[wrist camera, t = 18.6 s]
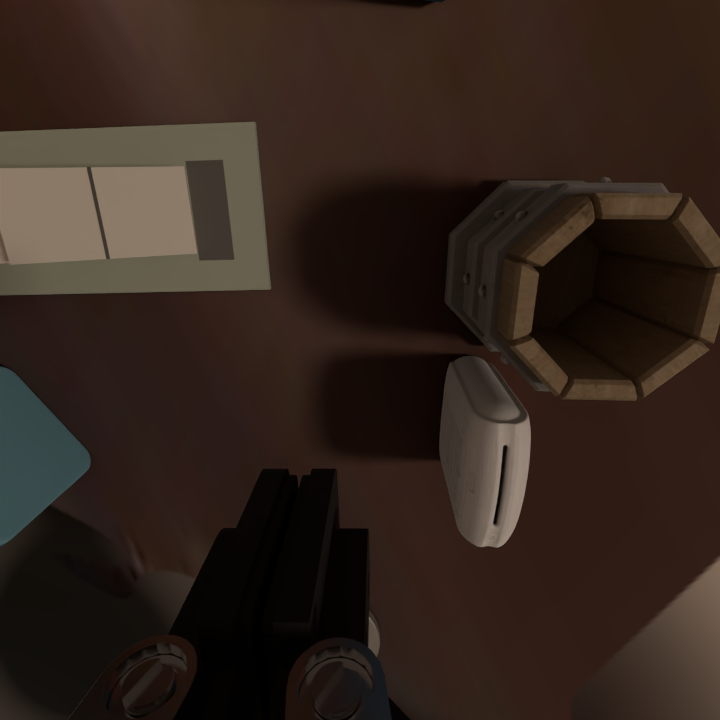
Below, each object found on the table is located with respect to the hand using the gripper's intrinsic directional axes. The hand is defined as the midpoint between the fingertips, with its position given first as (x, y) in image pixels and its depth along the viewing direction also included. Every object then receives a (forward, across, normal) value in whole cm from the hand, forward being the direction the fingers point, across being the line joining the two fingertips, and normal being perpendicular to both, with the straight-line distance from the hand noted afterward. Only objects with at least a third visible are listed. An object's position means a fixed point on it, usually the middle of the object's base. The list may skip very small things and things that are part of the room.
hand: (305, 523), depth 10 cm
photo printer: (+27, -9, +10) cm, 31 cm away
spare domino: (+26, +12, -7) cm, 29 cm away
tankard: (+27, -17, -2) cm, 32 cm away
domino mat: (+27, +23, -7) cm, 36 cm away
